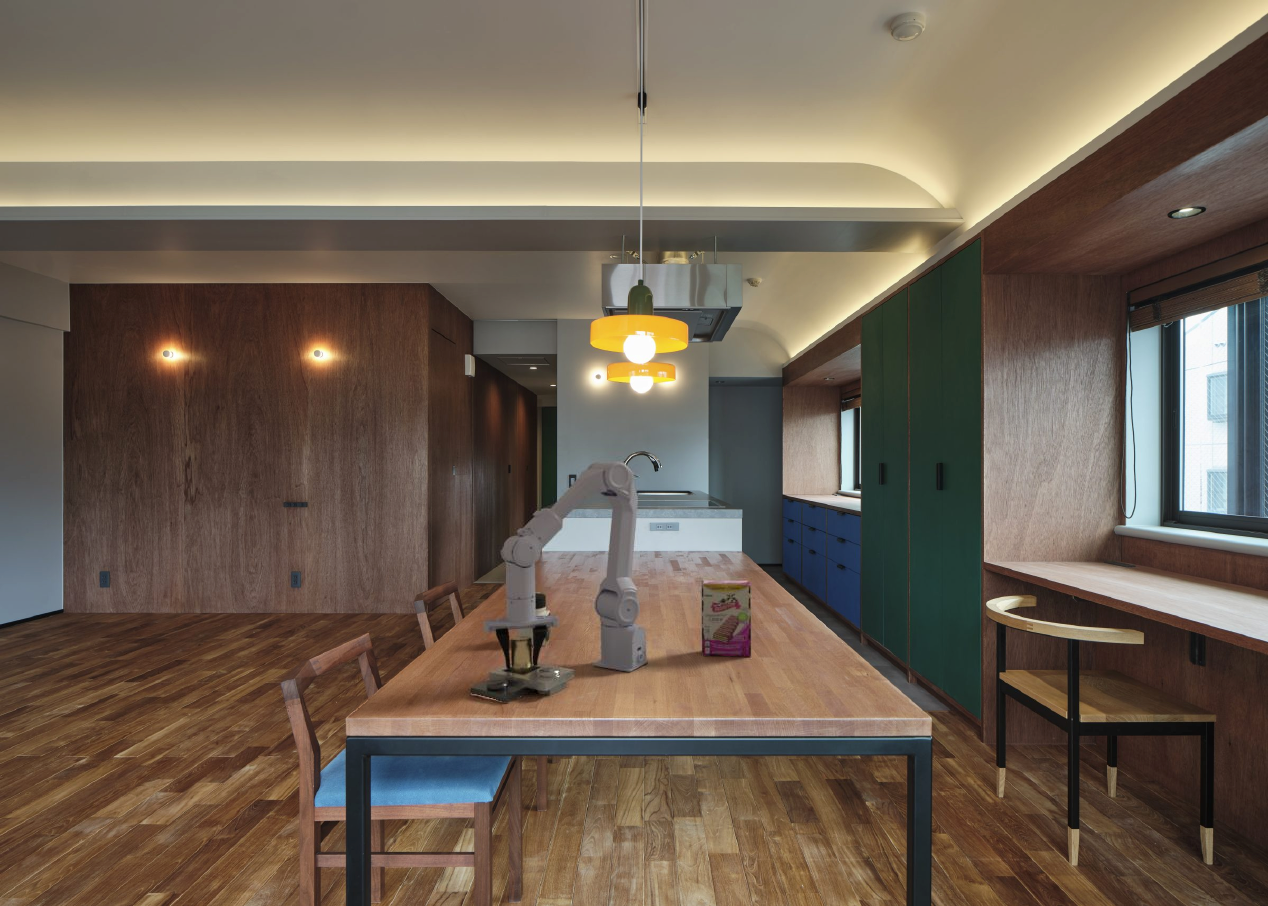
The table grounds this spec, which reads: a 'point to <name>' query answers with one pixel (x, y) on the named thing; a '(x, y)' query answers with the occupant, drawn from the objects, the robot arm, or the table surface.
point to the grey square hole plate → (536, 678)
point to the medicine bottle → (540, 611)
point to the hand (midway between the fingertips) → (521, 665)
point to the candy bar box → (726, 618)
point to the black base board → (500, 690)
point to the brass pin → (521, 655)
